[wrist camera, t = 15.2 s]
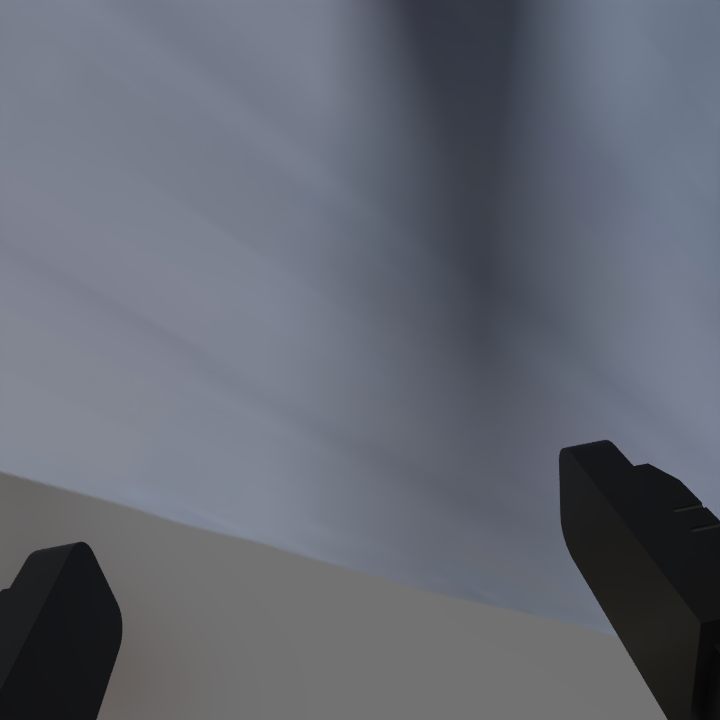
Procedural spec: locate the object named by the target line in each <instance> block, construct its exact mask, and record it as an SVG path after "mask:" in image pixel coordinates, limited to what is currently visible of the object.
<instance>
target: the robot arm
mask: <svg viewBox="0 0 720 720" xmlns="http://www.w3.org/2000/svg"><path fill="white" fill-rule="evenodd" d="M559 475H560V515H561V526H562V531H563V535H564V539H565V542H566V545H567V548H568V550H569V552H570V555H571V557H572V558H573V560H574V562H575V564H576V565H577V567H578V569H579V570H580V572H581V574H582V575H583V577H584V579H585V580H586V582H587V584H588V586H589V587H590V589H591V591H592V592H593V594H594V596H595V597H596V599H597V601H598V602H599V604H600V606H601V608H602V609H603V611H604V613H605V614H606V616H607V618H608V619H609V621H610V623H611V624H612V626H613V628H614V630H615V631H616V633H617V635H618V636H619V638H620V640H621V641H622V643H623V645H624V646H625V648H626V650H627V651H628V653H629V655H630V656H631V658H632V660H633V662H634V663H635V665H636V667H637V668H638V670H639V672H640V673H641V675H642V677H643V679H644V680H645V682H646V684H647V685H648V687H649V689H650V690H651V692H652V694H653V695H654V697H655V699H656V701H657V702H658V704H659V706H660V707H661V709H662V711H663V712H664V714H665V716H666V718H667V719H668V720H720V521H719V519H718V518H717V517H716V516H715V515H714V514H713V513H712V512H711V511H710V510H709V509H708V508H707V507H705V508H704V507H703V506H702V502H701V501H700V500H699V499H698V498H697V497H696V496H695V495H694V494H693V493H692V492H691V491H690V490H689V489H688V488H687V487H686V486H685V485H684V484H683V483H682V482H681V481H680V480H678V479H677V478H675V477H673V476H671V475H669V474H667V473H665V472H663V471H661V470H660V469H658V468H656V467H654V466H652V465H650V464H643V465H638V466H633V465H632V464H631V463H630V462H629V461H628V459H627V458H626V457H625V456H624V455H623V454H622V453H621V452H620V451H619V449H618V448H617V447H616V446H615V445H614V444H613V443H612V442H610V441H609V440H602V441H597V442H592V443H587V444H582V445H577V446H572V447H567V448H563V449H561V451H560V455H559ZM121 640H122V617H121V612H120V609H119V606H118V603H117V601H116V599H115V597H114V595H113V593H112V591H111V589H110V587H109V585H108V582H107V580H106V578H105V576H104V574H103V572H102V570H101V568H100V566H99V564H98V562H97V559H96V557H95V555H94V553H93V551H92V549H91V548H90V547H89V545H87V544H86V543H84V542H77V543H72V544H67V545H62V546H57V547H52V548H47V549H42V550H37V551H34V552H33V553H32V554H30V556H29V557H28V558H27V560H26V561H25V563H24V565H23V566H22V568H21V570H20V572H19V573H18V575H17V577H16V578H15V580H14V582H13V583H12V585H11V587H10V588H9V589H3V590H2V591H1V592H0V720H96V719H97V716H98V713H99V710H100V707H101V704H102V701H103V697H104V695H105V692H106V688H107V685H108V682H109V679H110V676H111V673H112V670H113V667H114V664H115V661H116V657H117V655H118V651H119V648H120V645H121Z"/></svg>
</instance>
